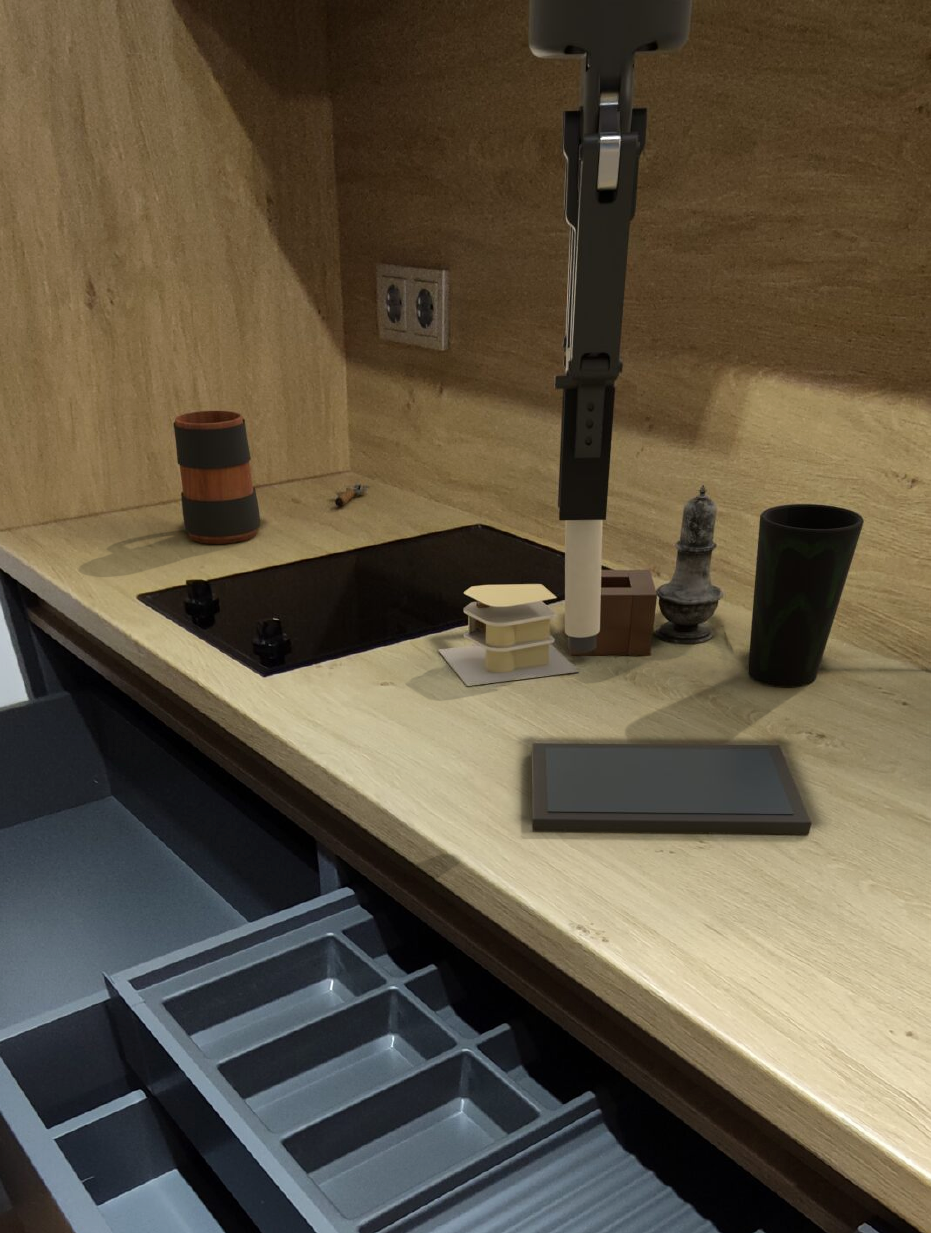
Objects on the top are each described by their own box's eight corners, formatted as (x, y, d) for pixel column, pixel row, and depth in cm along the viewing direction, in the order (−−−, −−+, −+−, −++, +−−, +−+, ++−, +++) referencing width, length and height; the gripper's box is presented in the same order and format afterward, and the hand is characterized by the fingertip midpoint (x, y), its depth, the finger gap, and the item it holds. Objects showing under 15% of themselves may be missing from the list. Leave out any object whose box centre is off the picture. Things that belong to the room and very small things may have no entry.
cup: (735, 655, 96) (759, 501, 88) (826, 660, 95) (859, 505, 87) (734, 689, 91) (761, 528, 82) (831, 694, 89) (868, 531, 81)
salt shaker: (640, 637, 100) (655, 488, 92) (669, 618, 104) (686, 473, 96) (700, 649, 97) (721, 497, 89) (727, 629, 101) (750, 481, 93)
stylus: (598, 640, 72) (605, 342, 61) (600, 653, 70) (608, 348, 59) (564, 642, 72) (565, 345, 61) (565, 654, 70) (566, 352, 60)
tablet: (777, 756, 81) (780, 743, 80) (809, 834, 72) (812, 821, 71) (531, 754, 82) (531, 741, 81) (532, 831, 73) (532, 818, 73)
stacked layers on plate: (543, 637, 100) (546, 572, 97) (579, 672, 94) (584, 603, 90) (437, 650, 99) (436, 584, 95) (467, 686, 92) (467, 617, 88)
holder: (644, 627, 102) (650, 569, 98) (650, 655, 97) (657, 594, 93) (567, 627, 102) (571, 569, 99) (570, 654, 97) (573, 594, 94)
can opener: (343, 508, 135) (342, 497, 134) (325, 506, 136) (324, 496, 135) (371, 490, 141) (370, 480, 140) (354, 489, 142) (354, 479, 141)
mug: (230, 514, 134) (216, 401, 126) (274, 537, 126) (261, 418, 119) (163, 526, 131) (144, 410, 123) (204, 550, 123) (186, 428, 115)
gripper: (529, -44, 56) (518, 481, 72) (531, -84, 45) (517, 549, 60) (680, -51, 55) (635, 479, 71) (720, -93, 44) (656, 548, 60)
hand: (581, 510), depth 66 cm, fingers closed on stylus, 2 cm apart
